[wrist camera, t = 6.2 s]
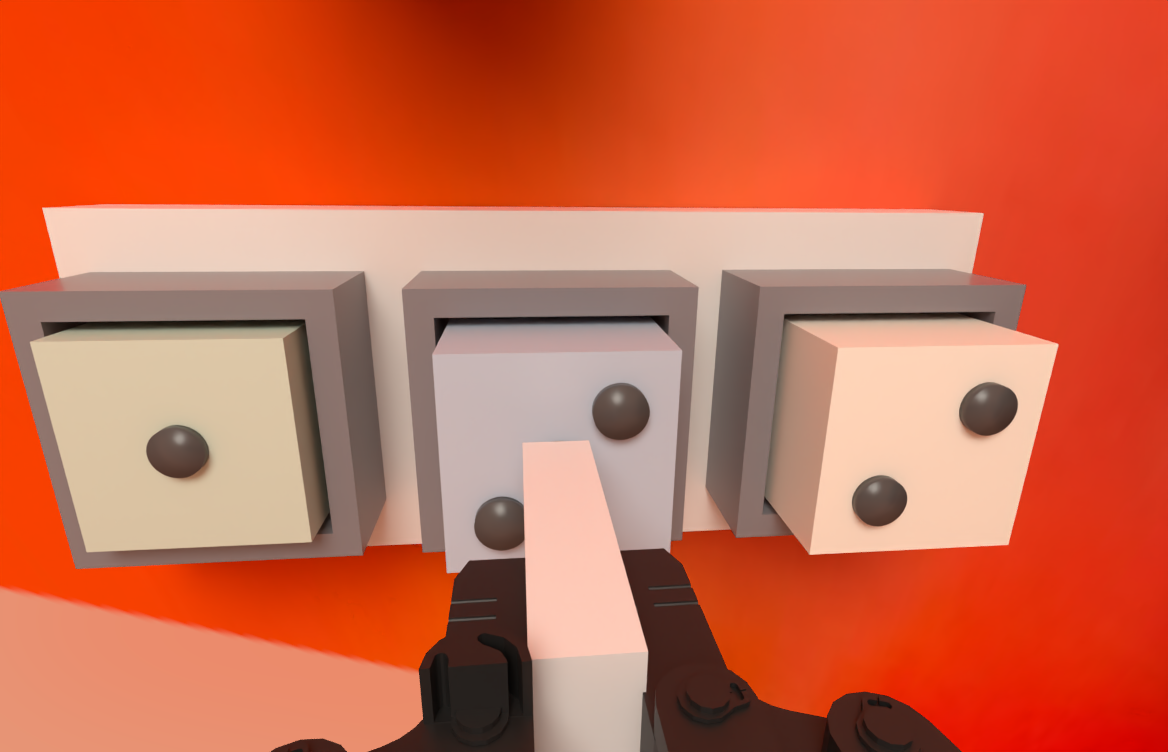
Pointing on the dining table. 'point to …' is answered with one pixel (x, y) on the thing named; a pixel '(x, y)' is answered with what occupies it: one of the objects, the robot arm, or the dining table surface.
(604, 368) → the button three dot
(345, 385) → the button panel
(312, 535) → the button one dot
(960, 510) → the button two dot
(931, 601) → the dining table surface
